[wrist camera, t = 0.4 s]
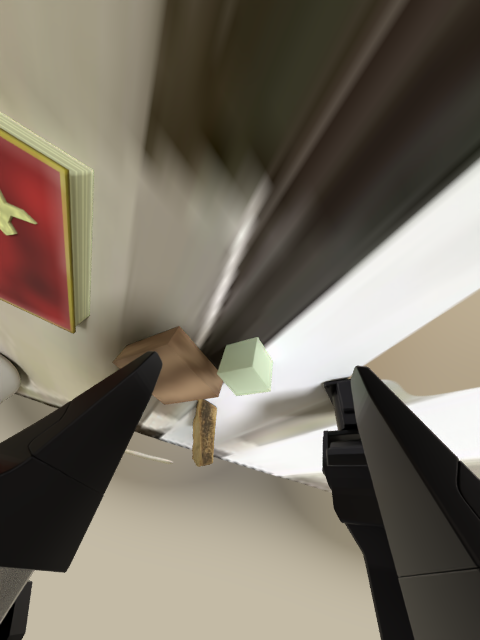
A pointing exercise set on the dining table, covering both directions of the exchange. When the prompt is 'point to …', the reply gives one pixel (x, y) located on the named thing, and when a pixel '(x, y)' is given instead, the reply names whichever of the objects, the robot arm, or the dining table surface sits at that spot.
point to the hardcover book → (44, 227)
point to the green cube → (246, 367)
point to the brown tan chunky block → (204, 433)
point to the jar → (8, 379)
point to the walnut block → (176, 367)
